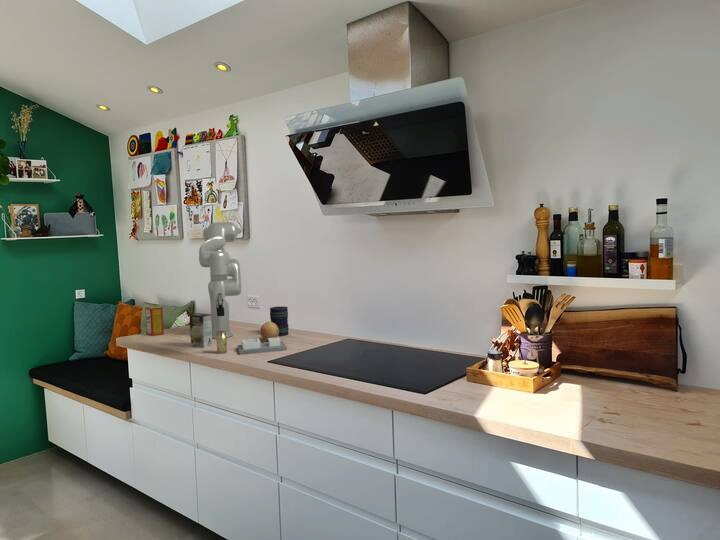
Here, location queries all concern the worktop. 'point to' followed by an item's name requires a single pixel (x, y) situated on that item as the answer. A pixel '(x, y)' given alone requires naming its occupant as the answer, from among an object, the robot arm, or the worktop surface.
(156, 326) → the baking soda box
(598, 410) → the worktop surface
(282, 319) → the storage jar
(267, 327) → the onion
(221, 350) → the brass stub
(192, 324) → the coffee box
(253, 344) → the manifold plate
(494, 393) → the worktop surface
